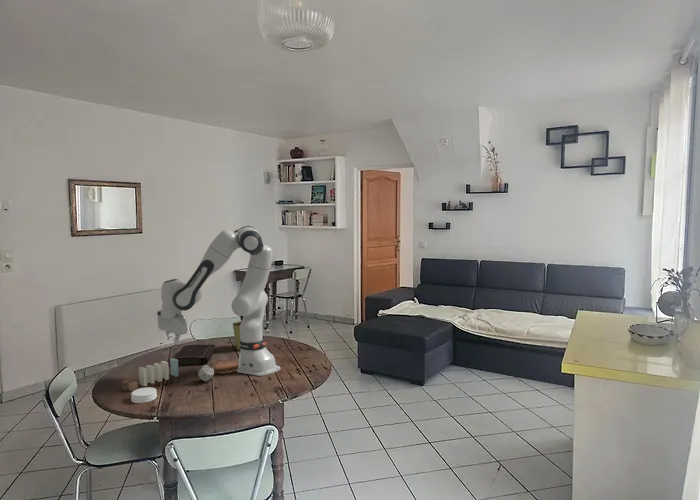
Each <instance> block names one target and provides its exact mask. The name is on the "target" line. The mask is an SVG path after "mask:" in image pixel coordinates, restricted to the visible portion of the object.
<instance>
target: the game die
mask: <svg viewBox="0 0 700 500" xmlns="http://www.w3.org/2000/svg"><path fill="white" fill-rule="evenodd" d="M215 370H216V368H213V367H212V365H208V364H207V365H206V364H203V365H202V366H199V369H197V370H196V372H197V376H196V379H200V381H201V382H205V384H207V383H208V381H210V380H213V377H216V374H215Z"/></svg>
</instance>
